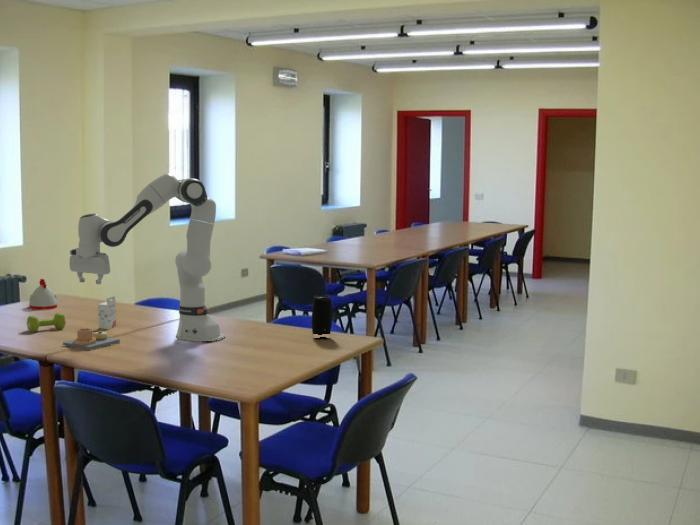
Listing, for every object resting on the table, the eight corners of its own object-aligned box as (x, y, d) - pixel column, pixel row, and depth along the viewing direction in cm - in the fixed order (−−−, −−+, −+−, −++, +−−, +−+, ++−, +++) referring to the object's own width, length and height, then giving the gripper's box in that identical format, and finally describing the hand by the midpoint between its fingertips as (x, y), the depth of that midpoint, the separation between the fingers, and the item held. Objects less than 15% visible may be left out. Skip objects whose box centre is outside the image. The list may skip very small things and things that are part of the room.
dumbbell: (31, 333, 370) (31, 317, 369) (25, 330, 376) (25, 315, 375) (67, 329, 381) (67, 314, 380) (60, 326, 387) (60, 311, 386)
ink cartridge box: (106, 325, 393) (106, 294, 391) (116, 326, 392) (116, 295, 390) (97, 328, 384) (97, 297, 382) (107, 329, 383) (107, 298, 382)
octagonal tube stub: (100, 341, 351) (100, 329, 350) (84, 345, 343) (84, 332, 342) (85, 339, 355) (85, 326, 354) (69, 342, 347) (69, 330, 346)
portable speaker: (330, 340, 376) (331, 298, 373) (310, 339, 376) (311, 297, 374) (332, 336, 384) (333, 295, 382) (312, 335, 385) (313, 294, 382)
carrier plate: (119, 342, 357) (119, 328, 356) (89, 350, 341) (89, 335, 340) (94, 338, 364) (94, 323, 363) (62, 345, 348) (62, 330, 347)
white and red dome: (51, 304, 443) (51, 276, 441) (61, 308, 432) (60, 280, 431) (25, 306, 434) (25, 278, 432) (34, 310, 424) (34, 281, 422)
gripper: (113, 252, 352) (113, 284, 354) (77, 249, 361) (78, 280, 363) (102, 253, 346) (103, 286, 348) (66, 250, 355) (67, 282, 357)
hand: (90, 283), depth 356 cm, fingers open, 8 cm apart
